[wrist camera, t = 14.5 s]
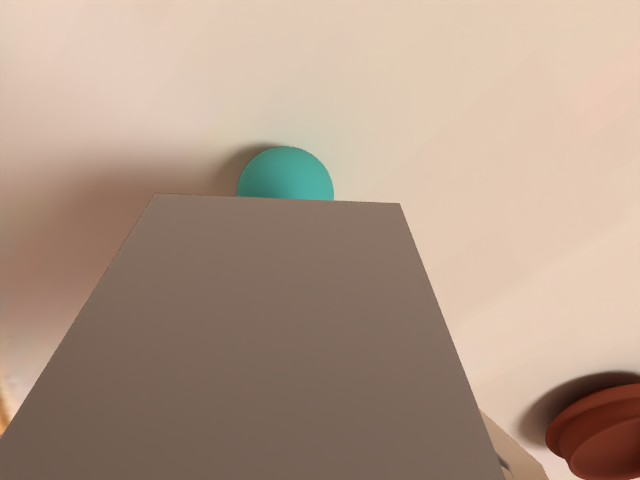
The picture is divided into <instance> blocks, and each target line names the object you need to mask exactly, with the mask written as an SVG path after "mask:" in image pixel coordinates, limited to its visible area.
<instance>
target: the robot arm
mask: <svg viewBox="0 0 640 480" xmlns="http://www.w3.org/2000/svg"><path fill="white" fill-rule="evenodd" d="M479 411H480V413H481V416H482V419H483V421H484V424H485V426H486V429H487V431H488V434H489V437H490V439H491V442H492V444H493V447H494V450H495V452H496V455H497V457H498V460H499V463H500V465H501V468H502V470H503V473H504V476H505V478H506V480H549V479H548V477H547V475H546V473H545V471H544V469H543V467H542V465H541V464H540V463H539V462H538V461H537V460H536V459H534V458H533V457H532V456H531V455H530V454H529V453H528V452H527V451H526V450H524V449H523V448H522V447H521V446H520V445H519V444H518V443H517V442H516V441H515V440H513V439H512V438H511V437H510V436H509V435H508V434H507V433H506V432H505V431H503V430H502V429H501V428H500V427H499V426H498V425H497V424H496V423H495V422H493V421H492V420H491V419H490V418H489V417H488V416H487V415H486V414H485V413H483V412H482V411H481V410H480V409H479ZM3 434H4V433H3ZM3 434H1V435H0V439H1V437H2V435H3Z"/></svg>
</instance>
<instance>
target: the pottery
mask: <svg viewBox="0 0 640 480" xmlns="http://www.w3.org/2000/svg"><path fill="white" fill-rule="evenodd" d="M545 439H546V444H547V446H548V448H549V449H550V450H551V451H552V452H553V453H554V454H555V455H557V456H559V457H561V458H564V459H565V460H566V462H567V464H568V466H569V469H570V470H571V472H572V473H573V474H574V475H576V476H577V477H579V478H582V479H584V480H630V479H635V478H639V477H640V383H636V384H628V385H622V386H617V387H606V388H601V389H598V390H595V391H592V392H590V393H587V394H585V395H584V396H582V397H580V398H579V399H578V400H576V401H575V402H574V403H573V404H572V405H571V406H569V407H568V408H566V409H565V410H564V411H563V412H561V413H560V414H559V415H558V416H557V417H556V418H555V419H554V420H553V421H552V423H551V424H550V426H549V427H548V429H547V432H546V438H545Z"/></svg>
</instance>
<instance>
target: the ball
mask: <svg viewBox="0 0 640 480" xmlns="http://www.w3.org/2000/svg"><path fill="white" fill-rule="evenodd" d="M237 197H259V198H283V199H307V200H330V201H333V198H334V192H333V185H332V181H331V178H330V176H329V174H328V172H327V170H326V168H325V167H324V165H323V164H322V163H321V162H320V161H319V160H318V159H317V158H316V157H315V156H313V155H312V154H310V153H308V152H306V151H305V150H302V149H299V148H295V147H288V146H281V147H274V148H270V149H268V150H265V151H263V152H261V153H259V154H258V155H257V156H255V157H254V158H253V159H252V160H251V161H250V162H249V163H248V164H247V165H246V167H245V168H244V170H243V171H242V173H241V176H240V178H239V181H238V186H237Z"/></svg>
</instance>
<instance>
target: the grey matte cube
mask: <svg viewBox="0 0 640 480" xmlns="http://www.w3.org/2000/svg"><path fill="white" fill-rule="evenodd" d="M0 480H506V478H505V476H504V473H503V470H502V468H501V465H500V463H499V460H498V457H497V455H496V452H495V450H494V447H493V444H492V442H491V439H490V437H489V434H488V431H487V429H486V426H485V424H484V421H483V419H482V416H481V413H480V411H479V408H478V406H477V403H476V400H475V398H474V395H473V393H472V390H471V387H470V385H469V382H468V380H467V377H466V374H465V372H464V369H463V367H462V364H461V362H460V359H459V356H458V354H457V351H456V349H455V346H454V343H453V341H452V338H451V336H450V333H449V330H448V328H447V325H446V323H445V320H444V317H443V315H442V312H441V310H440V307H439V305H438V302H437V299H436V297H435V294H434V292H433V289H432V286H431V284H430V281H429V279H428V276H427V273H426V271H425V268H424V266H423V263H422V260H421V258H420V255H419V253H418V250H417V248H416V245H415V242H414V240H413V237H412V235H411V232H410V229H409V227H408V224H407V222H406V219H405V216H404V214H403V211H402V209H401V206H400V203H378V202H354V201H330V200H307V199H283V198H259V197H236V196H212V195H188V194H165V193H155V194H154V196H153V197H152V199H151V200H150V202H149V204H148V205H147V207H146V208H145V210H144V211H143V213H142V215H141V216H140V218H139V219H138V221H137V223H136V224H135V226H134V227H133V229H132V231H131V232H130V234H129V235H128V237H127V238H126V240H125V242H124V243H123V245H122V246H121V248H120V250H119V251H118V253H117V254H116V256H115V258H114V259H113V261H112V262H111V264H110V265H109V267H108V269H107V270H106V272H105V273H104V275H103V277H102V278H101V280H100V281H99V283H98V284H97V286H96V288H95V289H94V291H93V292H92V294H91V296H90V297H89V299H88V300H87V302H86V304H85V305H84V307H83V308H82V310H81V311H80V313H79V315H78V316H77V318H76V319H75V321H74V323H73V324H72V326H71V327H70V329H69V331H68V332H67V334H66V335H65V337H64V338H63V340H62V342H61V343H60V345H59V346H58V348H57V350H56V351H55V353H54V354H53V356H52V358H51V359H50V361H49V362H48V364H47V365H46V367H45V369H44V370H43V372H42V373H41V375H40V377H39V378H38V380H37V381H36V383H35V385H34V386H33V388H32V389H31V391H30V392H29V394H28V396H27V397H26V399H25V400H24V402H23V404H22V405H21V407H20V408H19V410H18V412H17V413H16V415H15V416H14V418H13V419H12V421H11V423H10V424H9V426H8V427H7V429H6V431H5V432H4V434H3V435H2V437H1V439H0Z"/></svg>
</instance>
